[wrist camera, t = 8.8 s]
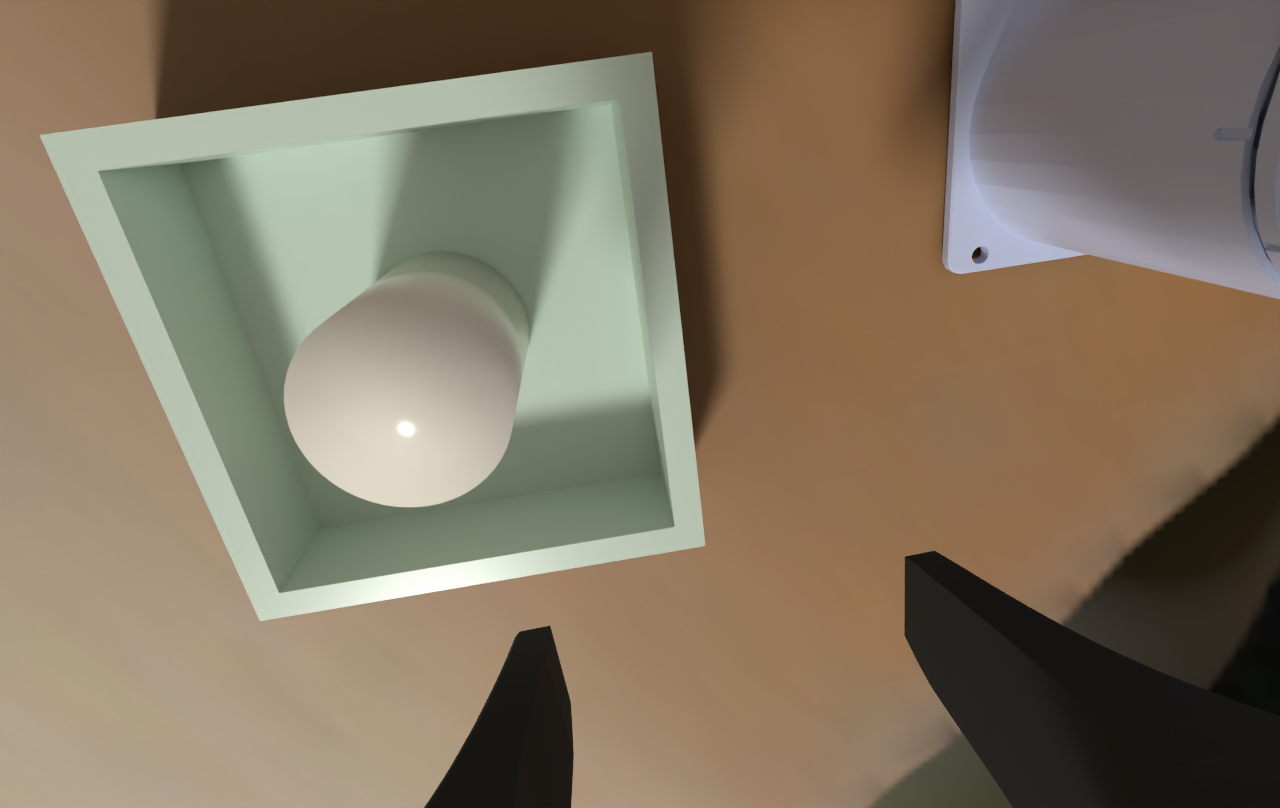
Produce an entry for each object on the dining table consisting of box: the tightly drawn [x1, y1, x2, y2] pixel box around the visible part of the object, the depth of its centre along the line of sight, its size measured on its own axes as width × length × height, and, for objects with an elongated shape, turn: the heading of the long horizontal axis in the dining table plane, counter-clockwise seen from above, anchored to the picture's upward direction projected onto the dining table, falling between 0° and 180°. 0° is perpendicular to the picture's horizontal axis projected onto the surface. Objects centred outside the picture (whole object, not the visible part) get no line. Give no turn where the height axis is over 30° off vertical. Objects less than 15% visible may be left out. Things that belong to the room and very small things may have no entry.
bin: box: [40, 52, 705, 621], centre depth 18 cm, size 13×13×4 cm
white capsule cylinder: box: [284, 252, 529, 507], centre depth 16 cm, size 4×4×6 cm
